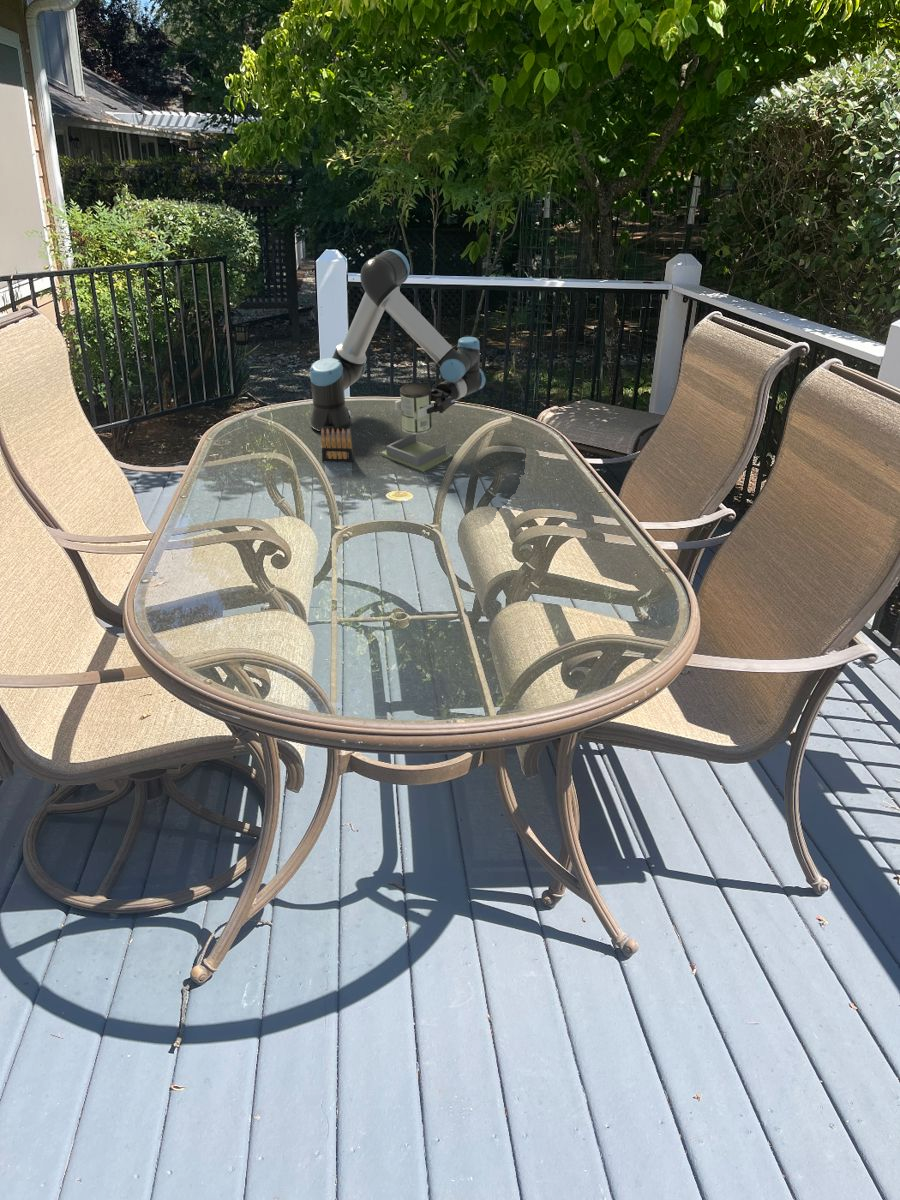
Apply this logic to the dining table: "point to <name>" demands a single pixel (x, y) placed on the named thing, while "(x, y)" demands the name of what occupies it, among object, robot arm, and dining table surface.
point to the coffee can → (415, 408)
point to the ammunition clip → (337, 447)
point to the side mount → (415, 453)
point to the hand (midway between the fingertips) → (407, 410)
